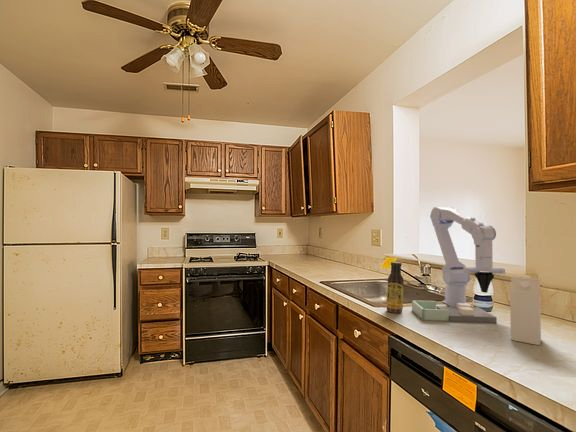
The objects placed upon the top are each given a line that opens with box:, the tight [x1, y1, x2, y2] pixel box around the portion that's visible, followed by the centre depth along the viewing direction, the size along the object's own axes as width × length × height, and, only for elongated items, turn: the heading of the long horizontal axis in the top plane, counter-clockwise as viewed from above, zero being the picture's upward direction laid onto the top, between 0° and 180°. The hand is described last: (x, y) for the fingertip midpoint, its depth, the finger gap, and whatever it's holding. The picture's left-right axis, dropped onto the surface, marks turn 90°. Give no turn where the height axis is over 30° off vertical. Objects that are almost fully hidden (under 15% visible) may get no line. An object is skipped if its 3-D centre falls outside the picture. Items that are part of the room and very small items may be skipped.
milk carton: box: [509, 275, 542, 346], centre depth 101 cm, size 7×7×19 cm
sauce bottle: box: [386, 261, 404, 314], centre depth 132 cm, size 7×6×20 cm
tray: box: [411, 300, 450, 322], centre depth 127 cm, size 14×9×4 cm, turn 174°
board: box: [436, 305, 497, 324], centre depth 125 cm, size 14×16×2 cm
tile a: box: [457, 302, 473, 309], centre depth 128 cm, size 4×4×2 cm
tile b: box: [458, 307, 474, 315], centre depth 122 cm, size 4×4×2 cm
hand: (484, 292), depth 127 cm, fingers closed
